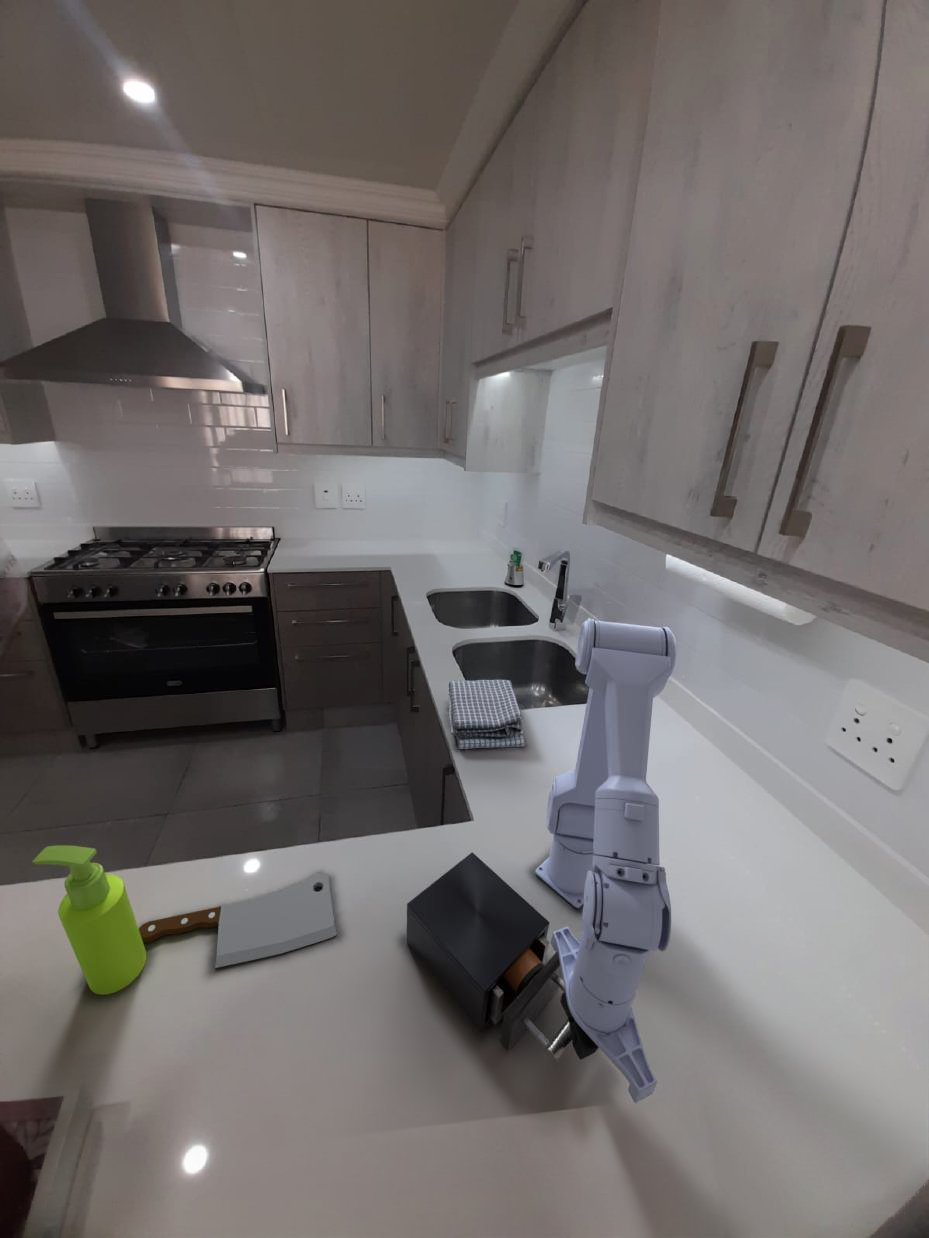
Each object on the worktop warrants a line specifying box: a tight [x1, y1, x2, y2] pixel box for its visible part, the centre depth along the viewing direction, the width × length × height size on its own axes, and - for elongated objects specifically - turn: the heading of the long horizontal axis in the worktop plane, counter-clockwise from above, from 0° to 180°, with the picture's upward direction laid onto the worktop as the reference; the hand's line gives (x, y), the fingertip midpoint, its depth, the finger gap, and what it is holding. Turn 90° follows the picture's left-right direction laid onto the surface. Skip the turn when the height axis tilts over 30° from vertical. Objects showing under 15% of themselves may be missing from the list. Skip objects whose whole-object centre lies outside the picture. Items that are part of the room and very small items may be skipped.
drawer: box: [486, 934, 572, 1064], centre depth 58 cm, size 17×10×6 cm, turn 44°
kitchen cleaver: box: [138, 871, 338, 969], centre depth 64 cm, size 24×1×10 cm
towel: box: [448, 679, 526, 750], centre depth 106 cm, size 15×18×8 cm
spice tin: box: [503, 948, 545, 996], centre depth 58 cm, size 4×4×4 cm
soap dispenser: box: [31, 844, 147, 996], centre depth 55 cm, size 6×7×20 cm
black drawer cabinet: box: [406, 851, 550, 1033], centre depth 62 cm, size 14×12×8 cm
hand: (584, 1048), depth 52 cm, fingers closed
